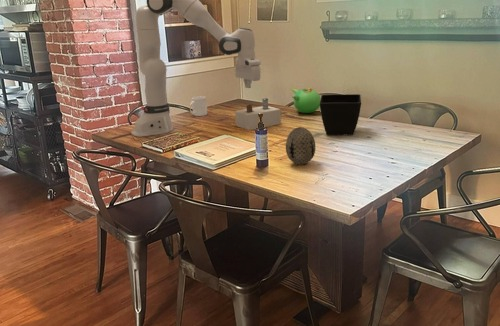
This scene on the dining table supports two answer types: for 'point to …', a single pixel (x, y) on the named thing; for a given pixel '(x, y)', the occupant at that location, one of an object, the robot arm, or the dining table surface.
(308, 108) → the green teapot
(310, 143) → the decorative egg
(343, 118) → the flower pot
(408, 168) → the dining table surface
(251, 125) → the socket block
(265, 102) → the metal plug
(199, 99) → the mug
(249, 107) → the walnut plug
